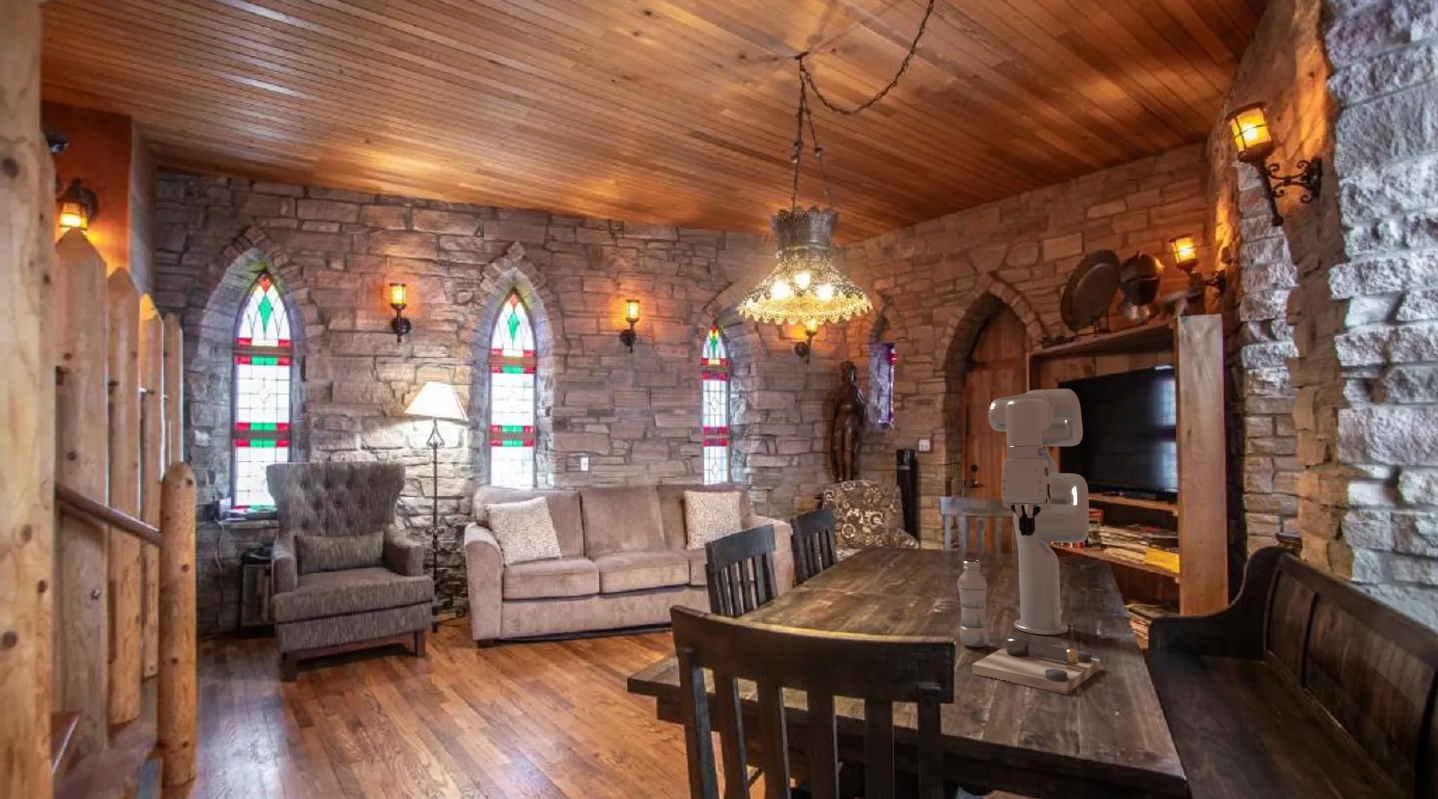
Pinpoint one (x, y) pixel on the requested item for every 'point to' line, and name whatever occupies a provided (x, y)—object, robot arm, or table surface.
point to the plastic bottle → (973, 605)
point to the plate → (1037, 670)
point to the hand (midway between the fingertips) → (1027, 534)
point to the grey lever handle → (1039, 650)
